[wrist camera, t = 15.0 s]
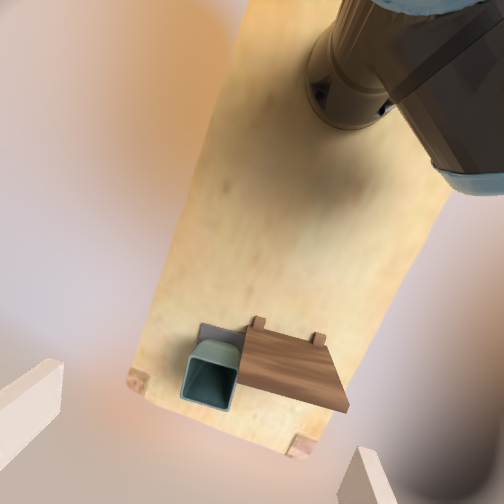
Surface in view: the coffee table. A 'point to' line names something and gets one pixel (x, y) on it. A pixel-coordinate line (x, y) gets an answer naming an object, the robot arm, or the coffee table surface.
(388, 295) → the coffee table surface
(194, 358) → the flower pot
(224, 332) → the mat
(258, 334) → the screen
